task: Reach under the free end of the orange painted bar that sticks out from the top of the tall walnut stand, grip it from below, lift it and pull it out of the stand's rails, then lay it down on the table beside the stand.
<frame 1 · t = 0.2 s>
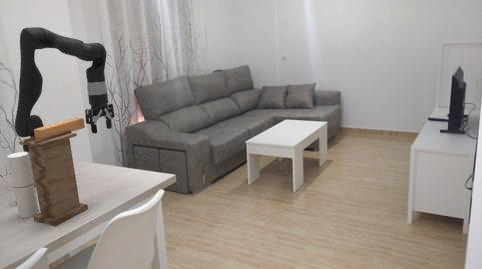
hand: (102, 130, 172), 29 cm above the table, tool pointing down, fingers open, 8 cm apart
orange bar: (61, 133, 159), point 32 cm above the table, touching walnut stand
cylindrical container: (29, 214, 165), on the table
walnut stand: (61, 214, 162), on the table
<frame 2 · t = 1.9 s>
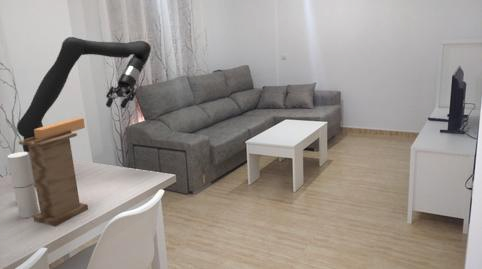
hand: (114, 106, 184), 37 cm above the table, tool tilted 45°, fingers open, 8 cm apart
nothing on the table moved.
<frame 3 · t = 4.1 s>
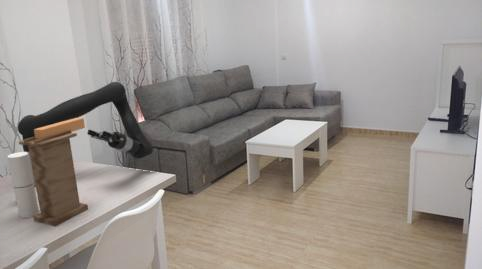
hand: (95, 132, 175), 28 cm above the table, tool pointing upward, fingers open, 8 cm apart
nothing on the table moved.
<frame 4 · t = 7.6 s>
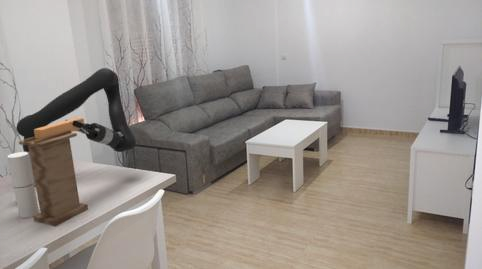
hand: (69, 122, 162), 35 cm above the table, tool pointing upward, fingers closed on orange bar, 4 cm apart
orange bar: (61, 133, 159), point 32 cm above the table, touching gripper, walnut stand
everything else where it was.
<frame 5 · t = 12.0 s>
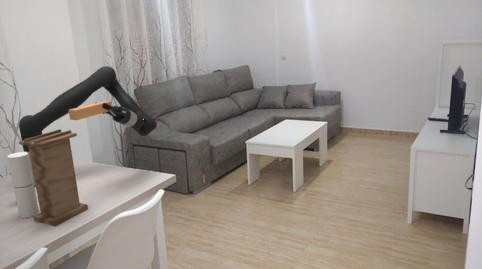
hand: (99, 104, 176), 39 cm above the table, tool pointing upward, fingers closed on orange bar, 4 cm apart
orange bar: (92, 114, 173), point 36 cm above the table, touching gripper
everything else where it was.
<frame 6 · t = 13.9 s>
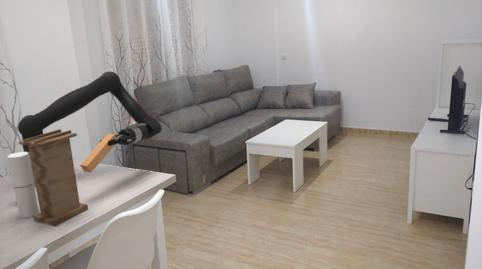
hand: (104, 143, 180), 22 cm above the table, tool horizontal, fingers closed on orange bar, 4 cm apart
orange bar: (101, 155, 179), point 17 cm above the table, tilted 26°, touching gripper
everything else where it was.
when the fingers open (12 cm above the table, at t = 16.6 s): orange bar drops 7 cm, on the table.
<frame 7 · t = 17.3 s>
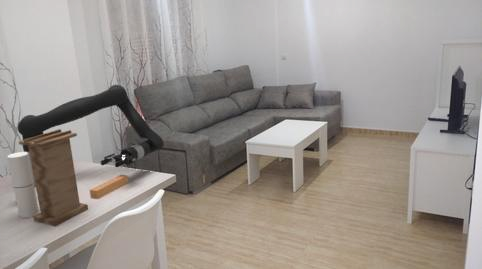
hand: (108, 164, 183), 12 cm above the table, tool horizontal, fingers open, 8 cm apart
orange bar: (110, 190, 186), on the table
everything else where it was.
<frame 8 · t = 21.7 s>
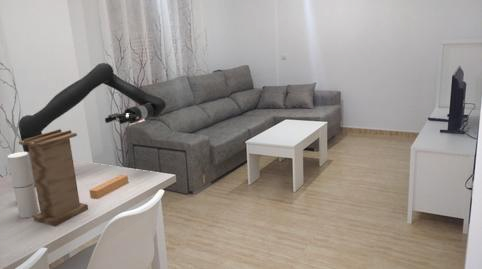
hand: (112, 121, 187), 30 cm above the table, tool horizontal, fingers open, 8 cm apart
nothing on the table moved.
at the end: orange bar inside the target area (0.8 cm from its centre), on the table; the gripper is holding nothing; orange bar moved 38.7 cm from its start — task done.
